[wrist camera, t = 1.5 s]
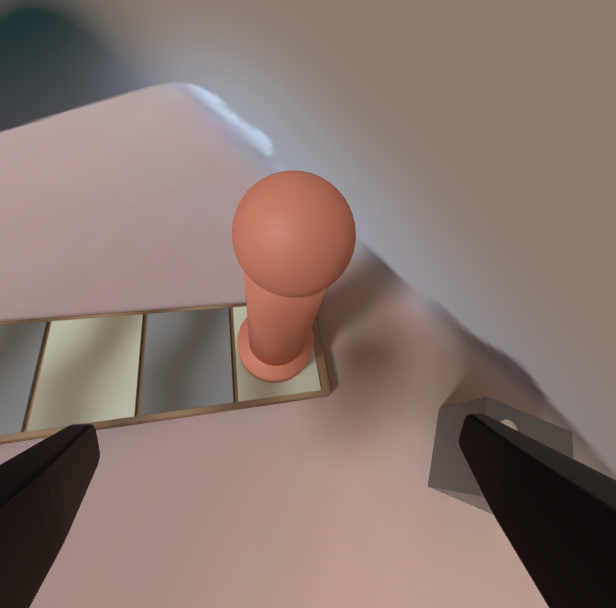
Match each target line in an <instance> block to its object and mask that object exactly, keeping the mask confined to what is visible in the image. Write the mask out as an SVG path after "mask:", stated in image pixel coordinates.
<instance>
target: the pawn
mask: <svg viewBox="0 0 616 608" xmlns="http://www.w3.org/2000/svg"><path fill="white" fill-rule="evenodd" d="M355 239H356V231H355V222H354V219H353V215H352V212H351V209H350V207H349V205H348V203H347V202H346V200H345V198H344V197H343V196H342V194H341V193H340V192H339V191H338V190H337V189H336V188H335V187H334V186H333V185H332V184H331V183H329V182H328V181H326V180H325V179H323V178H321V177H319V176H317V175H315V174H312V173H308V172H304V171H283V172H278V173H274V174H272V175H269V176H267V177H265V178H263V179H262V180H260V181H259V182H257V183H256V184H255V185H254V186H252V187H251V188H250V189H249V190H248V191H247V193H246V194H245V195H244V197H243V198H242V200H241V201H240V203H239V205H238V207H237V210H236V212H235V215H234V219H233V225H232V242H233V247H234V251H235V255H236V257H237V260H238V262H239V264H240V266H241V267H242V269H243V270H244V277H245V292H246V306H247V318H246V319H245V320H244V321H243V323H242V325H241V327H240V329H239V332H238V338H237V345H238V351H239V356H240V360H241V362H242V364H243V366H244V367H245V369H246V370H247V371H248V372H249V373H250V374H251V375H252V376H254V377H255V378H257V379H259V380H261V381H264V382H269V383H280V382H285V381H288V380H290V379H292V378H294V377H295V376H297V375H298V374H299V373H300V372H301V371H302V370H303V369H304V367H305V366H306V364H307V362H308V361H309V359H310V357H311V355H312V352H313V348H314V336H313V331H312V329H311V327H312V324H313V322H314V320H315V317H316V315H317V313H318V310H319V308H320V306H321V304H322V301H323V299H324V297H325V294H326V292H327V290H328V287H329V286H331V285H332V284H333V283H334V282H335V281H336V280H337V279H338V278H339V277H340V276H341V275H342V274H343V272H344V271H345V269H346V268H347V266H348V264H349V262H350V260H351V257H352V255H353V251H354V247H355Z"/></svg>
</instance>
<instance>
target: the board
mask: <svg viewBox="0 0 616 608" xmlns="http://www.w3.org/2000/svg"><path fill="white" fill-rule="evenodd" d="M246 318H247V306H246V303H245V304H232V305H218V306H205V307H192V308H178V309H165V310H152V311H138V312H125V313H112V314H98V315H85V316H72V317H58V318H45V319H32V320H18V321H5V322H0V444H5V443H12V442H19V441H26V440H32V439H39V438H46V437H50V436H51V435H53V434H55V433H57V432H58V431H60V430H62V429H64V428H65V427H67V426H69V425H72V424H92V425H94V427H95V429H96V430H101V429H108V428H114V427H121V426H128V425H135V424H142V423H148V422H155V421H162V420H169V419H176V418H183V417H189V416H196V415H203V414H210V413H217V412H224V411H230V410H237V409H244V408H251V407H258V406H265V405H271V404H278V403H285V402H292V401H299V400H306V399H312V398H319V397H326V396H329V395H330V394H331V391H330V386H329V380H328V375H327V370H326V364H325V359H324V354H323V348H322V343H321V338H320V333H319V327H318V322H317V317H315V320H314V322H313V324H312V327H311V329H312V331H313V336H314V348H313V352H312V355H311V357H310V359H309V361H308V362H307V364H306V366H305V367H304V369H303V370H302V371H301V372H300V373H299V374H298V375H297V376H295V377H294V378H292V379H290V380H288V381H285V382H280V383H269V382H264V381H261V380H259V379H257V378H255V377H254V376H252V375H251V374H250V373H249V372H248V371H247V370H246V369H245V367H244V366H243V364H242V362H241V360H240V356H239V351H238V345H237V338H238V332H239V329H240V327H241V325H242V323H243V321H244V320H245V319H246Z"/></svg>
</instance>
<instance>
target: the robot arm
mask: <svg viewBox="0 0 616 608" xmlns="http://www.w3.org/2000/svg"><path fill="white" fill-rule="evenodd" d="M459 446H460V449H461V451H462V453H463V455H464V457H465V459H466V461H467V463H468V465H469V467H470V469H471V471H472V473H473V475H474V477H475V479H476V481H477V483H478V486H479V488H480V490H481V492H482V494H483V496H484V498H485V500H486V502H487V503H488V505H489V507H490V509H491V511H492V513H493V514H494V516H495V518H496V520H497V521H498V523H499V525H500V526H501V528H502V530H503V531H504V533H505V535H506V536H507V538H508V540H509V541H510V543H511V545H512V546H513V548H514V550H515V551H516V553H517V555H518V556H519V558H520V560H521V561H522V563H523V565H524V566H525V568H526V570H527V571H528V573H529V575H530V576H531V578H532V580H533V581H534V583H535V585H536V586H537V588H538V590H539V592H540V593H541V595H542V597H543V598H544V600H545V602H546V603H547V605H548V607H549V608H616V480H614V479H612V478H610V477H608V476H606V475H604V474H602V473H600V472H598V471H596V470H594V469H592V468H590V467H588V466H586V465H584V464H582V463H580V462H578V461H576V460H574V459H572V458H570V457H568V456H566V455H564V454H562V453H560V452H558V451H556V450H554V449H552V448H550V447H548V446H546V445H544V444H542V443H541V442H539V441H537V440H535V439H533V438H531V437H529V436H527V435H525V434H523V433H521V432H519V431H517V430H515V429H513V428H511V427H509V426H507V425H505V424H503V423H501V422H499V421H497V420H495V419H493V418H491V417H489V416H487V415H485V414H482V413H475V414H467V415H466V417H465V418H464V422H463V425H462V428H461V432H460V435H459ZM99 458H100V451H99V445H98V440H97V434H96V429H95V427H94V425H92V424H72V425H69V426H67V427H65V428H64V429H62V430H60V431H58V432H57V433H55V434H53V435H51V436H50V437H48V438H46V439H44V440H43V441H41V442H39V443H37V444H36V445H34V446H32V447H30V448H29V449H27V450H25V451H24V452H22V453H20V454H18V455H17V456H15V457H13V458H11V459H10V460H8V461H6V462H4V463H3V464H1V465H0V608H29V607H30V605H31V603H32V601H33V600H34V598H35V596H36V594H37V592H38V590H39V588H40V587H41V585H42V583H43V581H44V579H45V577H46V576H47V574H48V572H49V570H50V568H51V566H52V564H53V563H54V561H55V559H56V557H57V555H58V553H59V551H60V549H61V547H62V545H63V543H64V541H65V539H66V537H67V535H68V533H69V530H70V528H71V526H72V523H73V521H74V519H75V516H76V514H77V512H78V510H79V507H80V505H81V503H82V500H83V498H84V496H85V493H86V491H87V489H88V486H89V484H90V482H91V479H92V477H93V475H94V472H95V470H96V468H97V465H98V462H99Z"/></svg>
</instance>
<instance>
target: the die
mask: <svg viewBox="0 0 616 608" xmlns="http://www.w3.org/2000/svg"><path fill="white" fill-rule="evenodd" d="M475 413H482V414H485V415H487V416H489V417H491V418H493V419H495V420H497V421H499V422H501V423H503V424H505V425H507V426H509V427H511V428H513V429H515V430H517V431H519V432H521V433H523V434H525V435H527V436H529V437H531V438H533V439H535V440H537V441H539V442H541V443H542V444H544V445H546V446H548V447H550V448H552V449H554V450H556V451H558V452H560V453H562V454H564V455H566V456H568V457H570V458H572V459H573V446H572V432H570V431H567V430H565V429H563V428H560V427H558V426H555V425H553V424H551V423H548V422H546V421H543V420H541V419H538V418H536V417H534V416H531V415H529V414H526V413H524V412H522V411H519V410H517V409H514V408H512V407H509V406H507V405H505V404H502V403H500V402H497V401H495V400H493V399H490V398H488V397H485V398H481V399H477V400H473V401H469V402H465V403H461V404H457V405H453V406H449V407H445V408H441V409H439V414H438V421H437V428H436V434H435V441H434V448H433V455H432V462H431V468H430V475H429V482H428V487H430V488H433V489H435V490H437V491H440V492H442V493H444V494H447V495H449V496H451V497H454V498H456V499H458V500H461V501H463V502H465V503H468V504H470V505H472V506H475V507H477V508H479V509H482V510H484V511H486V512H489V513H491V514H493V513H492V511H491V509H490V507H489V505H488V503H487V502H486V500H485V498H484V496H483V494H482V492H481V490H480V488H479V486H478V483H477V481H476V479H475V477H474V475H473V473H472V471H471V469H470V467H469V465H468V463H467V461H466V459H465V457H464V455H463V453H462V451H461V449H460V446H459V435H460V432H461V428H462V425H463V422H464V418H465V417H466V415H467V414H475ZM493 515H494V514H493Z"/></svg>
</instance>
